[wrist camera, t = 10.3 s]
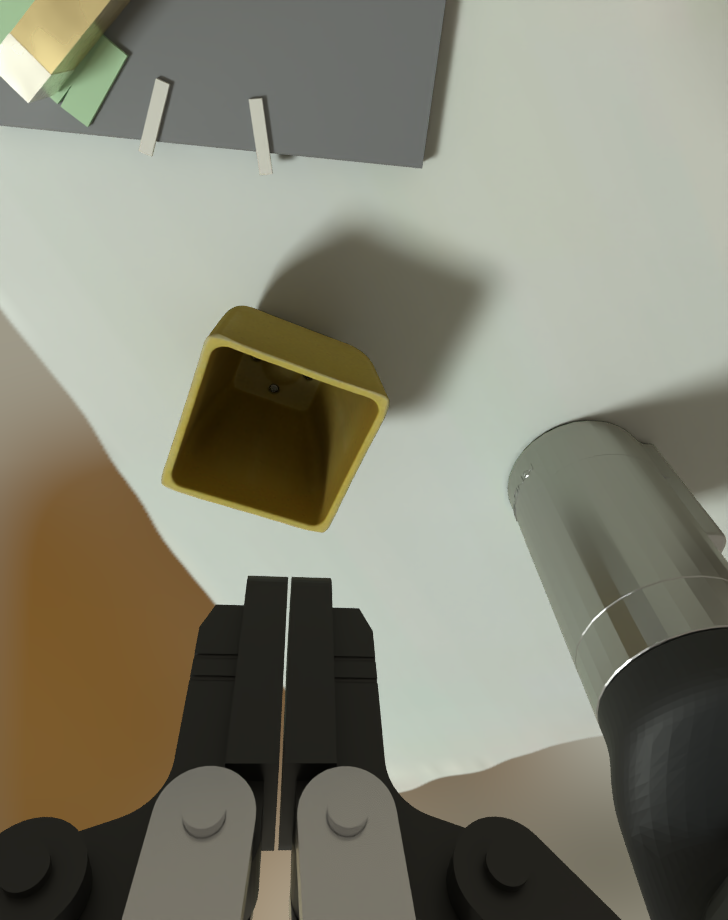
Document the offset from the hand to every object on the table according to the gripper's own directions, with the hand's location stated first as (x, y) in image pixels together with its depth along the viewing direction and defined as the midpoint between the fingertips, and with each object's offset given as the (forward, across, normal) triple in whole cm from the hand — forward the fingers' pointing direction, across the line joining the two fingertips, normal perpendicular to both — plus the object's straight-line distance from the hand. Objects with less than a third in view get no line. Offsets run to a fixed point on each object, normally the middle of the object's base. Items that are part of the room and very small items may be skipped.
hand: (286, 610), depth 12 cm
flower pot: (+27, +1, +8) cm, 28 cm away
